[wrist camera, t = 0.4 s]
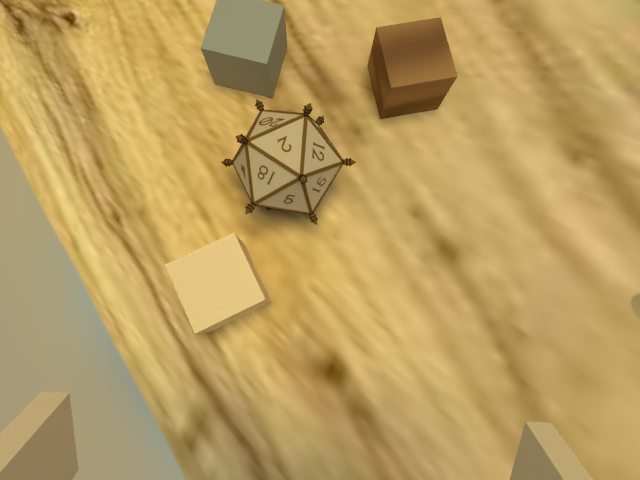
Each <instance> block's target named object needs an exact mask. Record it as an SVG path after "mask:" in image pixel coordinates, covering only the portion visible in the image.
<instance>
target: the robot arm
mask: <svg viewBox="0 0 640 480" xmlns="http://www.w3.org/2000/svg"><path fill="white" fill-rule="evenodd" d="M77 471H78V463H77V454H76V445H75V437H74V429H73V420H72V411H71V403H70V395H69V393H61V392H45V391H42V392H41V393H40V394H39V395H38V396H37V397H36V398H35V399H34V400H33V401H32V402H31V403H30V404H29V405H28V406H27V407H26V408H25V409H24V410H23V411H22V412H21V413H20V414H19V415H18V416H17V417H16V418H15V420H14V421H13V422H12V423H11V424H10V425H9V426H8V427H7V428H6V429H5V430H4V431H3V432H2V433H1V434H0V480H72V479H73V477H74V476H75V474H76V473H77ZM510 480H593V479H592V478H591V477H590V475H589V474H588V473H587V471H586V470H585V468H584V467H583V466H582V464H581V463H580V462H579V460H578V459H577V458H576V456H575V455H574V453H573V452H572V451H571V449H570V448H569V447H568V445H567V444H566V442H565V441H564V440H563V438H562V437H561V436H560V434H559V433H558V432H557V430H556V429H555V427H554V426H553V425H552V423H541V422H525V425H524V429H523V433H522V436H521V440H520V444H519V448H518V451H517V455H516V459H515V463H514V466H513V470H512V474H511V478H510Z"/></svg>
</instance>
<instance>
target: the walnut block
mask: <svg viewBox="0 0 640 480" xmlns="http://www.w3.org/2000/svg"><path fill="white" fill-rule="evenodd" d="M368 70H369V74H370V78H371V83H372V87H373V91H374V95H375V99H376V103H377V108H378V112H379V116H380V119H383V118H389V117H394V116H400V115H406V114H412V113H417V112H423V111H429V110H435V109H438V107H439V105H440V104H441V102H442V101H443V99H444V97H445V96H446V94H447V92H448V91H449V89H450V88H451V86H452V84H453V83H454V81H455V79H456V78H457V74H456V70H455V67H454V63H453V60H452V56H451V53H450V49H449V45H448V42H447V38H446V35H445V31H444V28H443V24H442V20H441V17H440V18H433V19H427V20H421V21H415V22H408V23H402V24H396V25H390V26H383V27H377V28H376V32H375V36H374V40H373V45H372V49H371V53H370V57H369V62H368Z"/></svg>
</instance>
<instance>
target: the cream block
mask: <svg viewBox="0 0 640 480" xmlns="http://www.w3.org/2000/svg"><path fill="white" fill-rule="evenodd" d="M165 266H166V268H167V271H168V273H169V275H170V277H171V280H172V282H173V284H174V287H175V289H176V291H177V294H178V296H179V298H180V301H181V303H182V305H183V307H184V310H185V312H186V314H187V317H188V319H189V321H190V324H191V326H192V328H193V330H194V333H195V334H197V333H204V332H212V331H214V330H216V329H218V328H220V327H222V326H224V325H226V324H228V323H230V322H232V321H234V320H236V319H238V318H240V317H242V316H244V315H246V314H248V313H250V312H253V311H255V310H257V309H259V308H261V307H263V306H265V305H267V304H269V303H271V300H270V298H269V296H268V294H267V292H266V289H265V287H264V285H263V283H262V281H261V279H260V277H259V274H258V272H257V270H256V268H255V266H254V264H253V262H252V260H251V257H250V255H249V253H248V251H247V249H246V247H245V245H244V244H243V242H242V241H241V240H240V239H239V238H238V236H237V235H236V234H235V233H232V234H230V235H227V236H225V237H223V238H221V239H219V240H217V241H215V242H212V243H210V244H208V245H206V246H204V247H202V248H200V249H197V250H195V251H193V252H191V253H189V254H187V255H185V256H182V257H180V258H178V259H176V260H174V261H172V262H170V263H167V264H165Z"/></svg>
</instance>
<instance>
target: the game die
mask: <svg viewBox="0 0 640 480" xmlns="http://www.w3.org/2000/svg"><path fill="white" fill-rule="evenodd" d="M262 103H263V102H260V101H259V100H257V99H256V105H255V106H257V109H258V110H259V111H260V112H259V114H258V116H257V118H256V119H255V121H254V123H253V125H252V127H251V128H250V130H249V132H248V134H247V135H246V137H245V136H243V135H242V134H241V135H239V136H236V138H237V142H240V143H242V144H241V146H240V148H239V150H238V151H237V153H236V155H235V157H234V159H233V160H231V159H225V160H224V161H223V162H221V163H223V164H224V165H226V167H227V166H230V165H233V166H234V168H235V170H236V172H237V174H238V176H239V178H240V180H241V182H242V184H243V186H244V188H245V190H246V192H247V194H248V196H249V198H250V201H251V204H248V206H247V207H245V208H246V214H247V213H250V212H252V210H254V207H255V206H259V207H266V208H267V210H269V209H278V210H285V211H291V212H297V213H304V214H309V215H310V219H311V222H313V223H315V224H316V225H317V219H318V218H317V217H316V215H315V214H314V210H315V209H316V207H317V206H318V204H319V202H320V201H321V199H322V198H323V196H324V194H325V193H326V191H327V189H328V188H329V186H330V185H331V183H332V181H333V180H334V178H335V177H336V175H337V173H338V172H339V170H340V168H341V167H342V165H346V166H348V165H350V166H351V165H352V164H354V163H356V162H355V161H353V160H352V159H351V158H350V159H345V160H343V159H342V158H341V156H340V155H339V153H338V152H337V150H336V149H335V147H334V146H333V144H332V143H331V142H330V140H329V139H328V137H327V136H326V134H325V133H324V131H323V130H322V128H321V127H320V125H322V123H324V116H322V117H320V116H319V117H318V119H317V120H316V121H314V120H313V119H312V118H311V117H310V116H309V114H310V113H311V111H312V107H311V103H310V104H308V105H306V106H304V107H305V108H304V109H303V111H304V113H295V112H284V111H272V110H264V108H263V106H264V105H263V104H262Z"/></svg>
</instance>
